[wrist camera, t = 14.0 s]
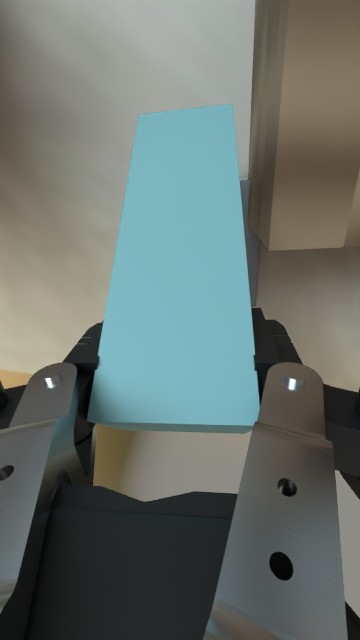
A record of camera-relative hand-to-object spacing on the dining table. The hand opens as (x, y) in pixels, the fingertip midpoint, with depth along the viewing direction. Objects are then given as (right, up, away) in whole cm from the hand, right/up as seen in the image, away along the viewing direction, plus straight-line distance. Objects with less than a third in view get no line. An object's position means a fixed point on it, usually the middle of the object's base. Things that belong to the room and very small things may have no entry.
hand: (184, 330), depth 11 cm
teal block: (0, +2, +2) cm, 3 cm away
